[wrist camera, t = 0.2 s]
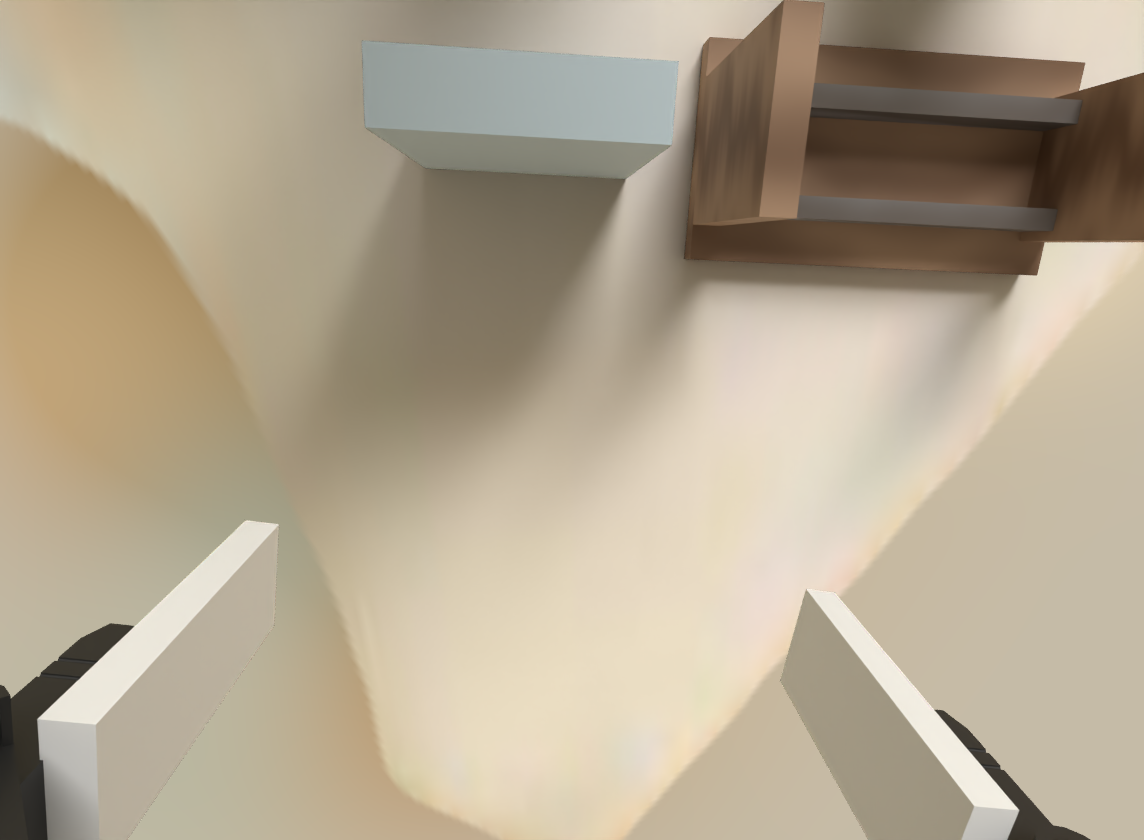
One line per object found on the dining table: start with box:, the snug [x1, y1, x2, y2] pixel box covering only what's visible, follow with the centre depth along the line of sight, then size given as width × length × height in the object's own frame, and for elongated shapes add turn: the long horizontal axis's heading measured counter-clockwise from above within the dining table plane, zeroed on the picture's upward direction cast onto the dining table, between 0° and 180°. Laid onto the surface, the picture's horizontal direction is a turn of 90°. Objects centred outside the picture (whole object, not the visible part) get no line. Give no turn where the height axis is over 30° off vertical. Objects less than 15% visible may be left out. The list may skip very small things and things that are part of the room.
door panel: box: [362, 41, 679, 179], centre depth 32 cm, size 3×12×14 cm, turn 87°
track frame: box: [684, 0, 1144, 275], centre depth 33 cm, size 12×22×14 cm, turn 87°
